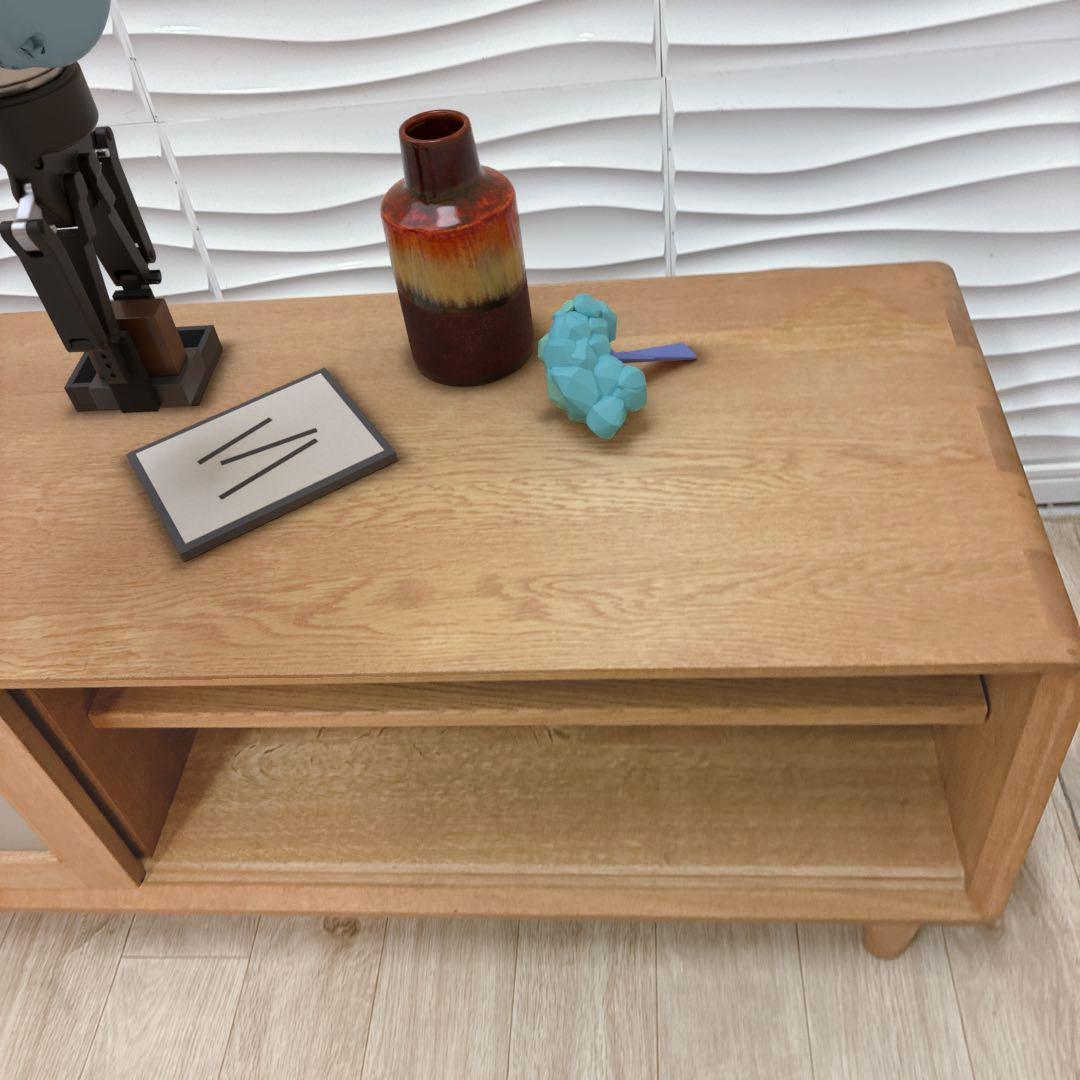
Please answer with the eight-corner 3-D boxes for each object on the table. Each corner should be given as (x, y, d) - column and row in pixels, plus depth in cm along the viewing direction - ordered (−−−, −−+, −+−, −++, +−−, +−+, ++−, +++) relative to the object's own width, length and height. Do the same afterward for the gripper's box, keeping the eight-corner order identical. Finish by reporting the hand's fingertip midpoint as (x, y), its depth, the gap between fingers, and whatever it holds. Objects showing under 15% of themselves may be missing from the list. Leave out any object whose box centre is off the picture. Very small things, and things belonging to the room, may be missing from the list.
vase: (530, 305, 98) (502, 84, 83) (538, 378, 91) (509, 149, 76) (413, 320, 98) (365, 102, 84) (412, 394, 91) (358, 168, 76)
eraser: (98, 410, 79) (59, 330, 74) (118, 372, 82) (82, 293, 77) (190, 406, 78) (156, 325, 73) (206, 368, 81) (175, 288, 76)
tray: (75, 411, 94) (63, 387, 92) (106, 354, 100) (95, 331, 98) (198, 405, 93) (188, 381, 91) (222, 348, 98) (213, 324, 97)
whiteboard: (183, 562, 80) (179, 552, 79) (129, 461, 89) (124, 452, 88) (398, 460, 85) (395, 450, 84) (327, 375, 94) (324, 365, 93)
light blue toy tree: (597, 366, 97) (484, 370, 86) (657, 293, 92) (545, 287, 81) (667, 458, 94) (558, 474, 82) (733, 387, 88) (627, 394, 77)
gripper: (13, 135, 57) (166, 464, 74) (120, 9, 69) (231, 316, 86) (-119, 145, 58) (62, 468, 74) (10, 19, 70) (141, 321, 86)
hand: (152, 386), depth 80 cm, fingers closed on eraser, 4 cm apart
